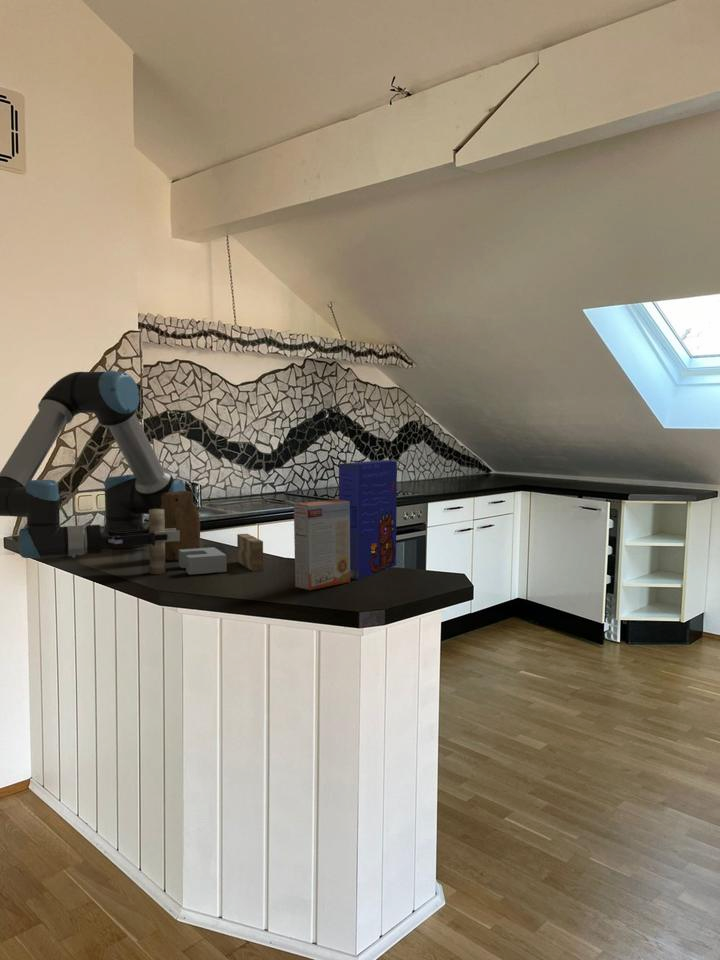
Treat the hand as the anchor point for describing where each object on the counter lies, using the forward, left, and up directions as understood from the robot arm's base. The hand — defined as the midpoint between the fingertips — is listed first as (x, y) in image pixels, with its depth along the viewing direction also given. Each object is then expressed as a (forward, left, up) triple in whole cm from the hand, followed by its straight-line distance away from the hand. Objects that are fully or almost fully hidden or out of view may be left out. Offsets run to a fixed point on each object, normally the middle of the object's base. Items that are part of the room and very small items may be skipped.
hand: (177, 534), depth 199 cm
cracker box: (+31, +30, -10) cm, 44 cm away
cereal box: (+20, +48, -10) cm, 53 cm away
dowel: (0, -5, -10) cm, 11 cm away
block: (-19, +5, -10) cm, 22 cm away
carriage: (0, +7, -10) cm, 12 cm away
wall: (0, +20, -10) cm, 23 cm away
